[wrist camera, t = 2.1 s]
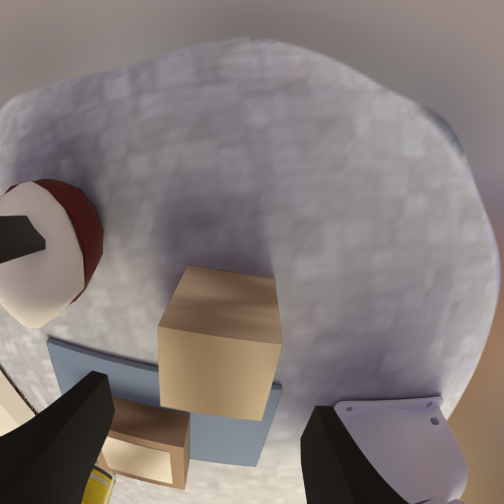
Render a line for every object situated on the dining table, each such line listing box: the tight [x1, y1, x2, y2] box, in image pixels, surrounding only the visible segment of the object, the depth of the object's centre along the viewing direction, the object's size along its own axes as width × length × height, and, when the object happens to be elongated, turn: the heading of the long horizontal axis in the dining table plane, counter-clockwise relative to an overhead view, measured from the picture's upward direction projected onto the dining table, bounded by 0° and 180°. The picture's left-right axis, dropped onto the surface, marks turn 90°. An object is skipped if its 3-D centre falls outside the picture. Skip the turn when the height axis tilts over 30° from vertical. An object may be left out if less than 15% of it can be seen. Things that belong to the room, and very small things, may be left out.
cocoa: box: [0, 179, 103, 329], centre depth 9 cm, size 10×6×12 cm, turn 107°
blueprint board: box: [46, 338, 282, 467], centre depth 19 cm, size 16×10×1 cm, turn 81°
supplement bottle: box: [81, 462, 116, 504], centre depth 20 cm, size 5×5×8 cm
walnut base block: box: [97, 396, 191, 490], centre depth 18 cm, size 7×7×3 cm
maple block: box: [158, 266, 283, 421], centre depth 14 cm, size 4×4×6 cm
